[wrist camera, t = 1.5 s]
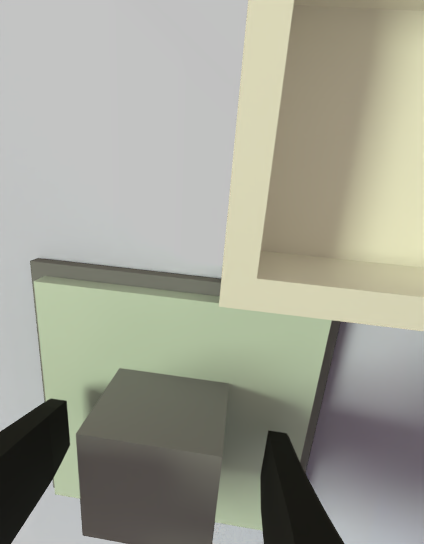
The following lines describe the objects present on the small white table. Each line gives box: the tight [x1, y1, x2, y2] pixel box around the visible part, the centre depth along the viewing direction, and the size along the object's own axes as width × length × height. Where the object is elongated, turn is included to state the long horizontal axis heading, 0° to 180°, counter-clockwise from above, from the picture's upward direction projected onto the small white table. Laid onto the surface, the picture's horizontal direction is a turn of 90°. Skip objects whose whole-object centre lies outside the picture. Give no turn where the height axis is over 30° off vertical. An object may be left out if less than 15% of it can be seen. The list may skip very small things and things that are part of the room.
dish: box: [219, 0, 424, 331], centre depth 7 cm, size 8×8×4 cm
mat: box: [30, 258, 341, 488], centre depth 12 cm, size 11×11×1 cm
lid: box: [34, 276, 332, 544], centre depth 10 cm, size 10×10×4 cm
